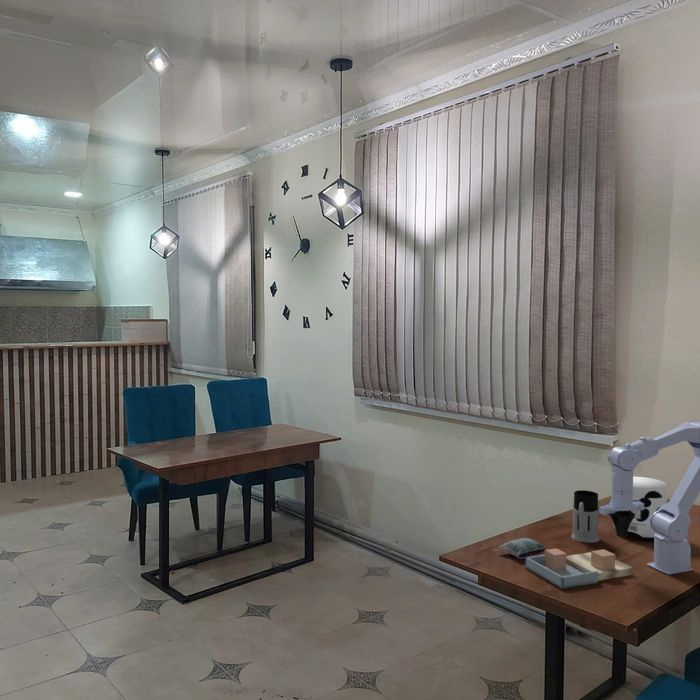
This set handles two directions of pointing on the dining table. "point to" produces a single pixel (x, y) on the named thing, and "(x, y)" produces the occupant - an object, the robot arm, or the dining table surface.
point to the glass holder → (585, 516)
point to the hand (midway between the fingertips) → (621, 536)
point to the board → (584, 565)
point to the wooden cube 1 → (555, 559)
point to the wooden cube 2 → (603, 559)
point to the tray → (560, 573)
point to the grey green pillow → (523, 548)
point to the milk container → (646, 505)
